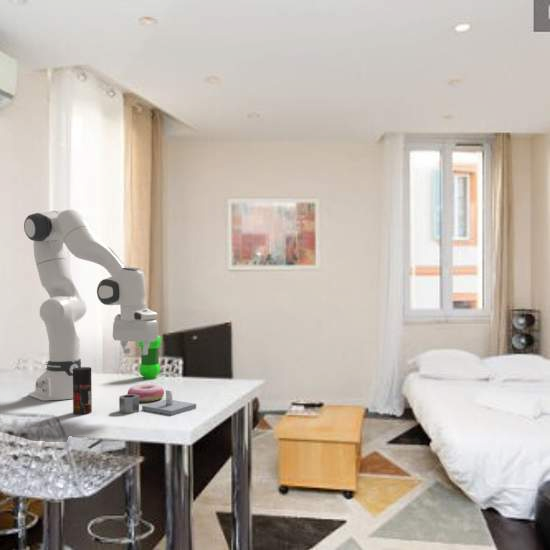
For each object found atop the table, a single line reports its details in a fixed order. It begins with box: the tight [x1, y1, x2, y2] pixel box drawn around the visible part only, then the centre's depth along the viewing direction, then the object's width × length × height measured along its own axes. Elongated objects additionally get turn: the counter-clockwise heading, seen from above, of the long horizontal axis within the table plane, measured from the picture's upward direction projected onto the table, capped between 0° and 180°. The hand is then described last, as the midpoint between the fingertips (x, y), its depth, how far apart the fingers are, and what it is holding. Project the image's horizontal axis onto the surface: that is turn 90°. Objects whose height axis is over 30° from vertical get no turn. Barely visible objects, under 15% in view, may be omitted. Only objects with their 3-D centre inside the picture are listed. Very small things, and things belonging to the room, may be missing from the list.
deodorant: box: [72, 366, 93, 416], centre depth 186 cm, size 6×6×15 cm
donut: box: [127, 383, 165, 403], centre depth 206 cm, size 14×13×5 cm
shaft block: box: [141, 389, 197, 416], centre depth 190 cm, size 14×12×6 cm
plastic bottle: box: [138, 334, 162, 380], centre depth 252 cm, size 10×10×25 cm
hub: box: [118, 394, 140, 414], centre depth 188 cm, size 6×6×5 cm
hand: (135, 354), depth 189 cm, fingers open, 8 cm apart
